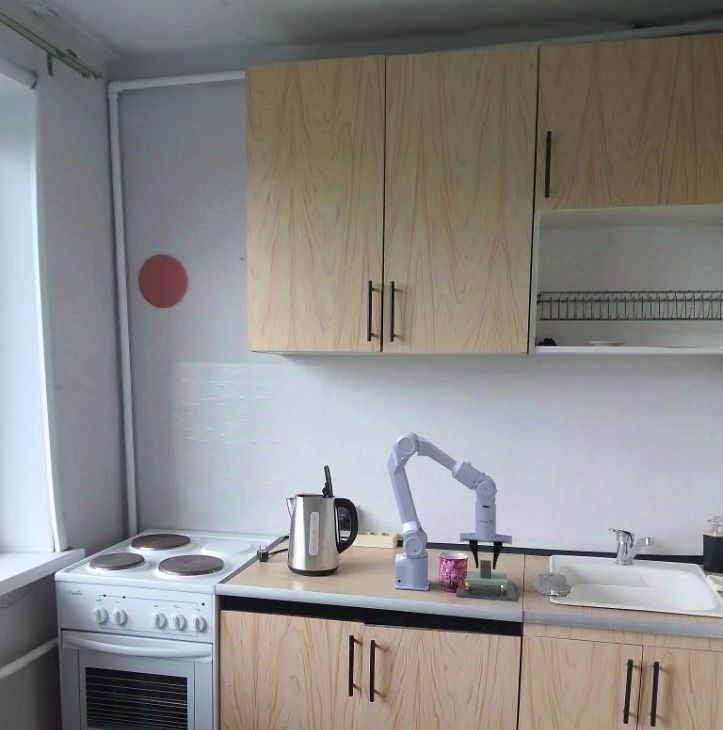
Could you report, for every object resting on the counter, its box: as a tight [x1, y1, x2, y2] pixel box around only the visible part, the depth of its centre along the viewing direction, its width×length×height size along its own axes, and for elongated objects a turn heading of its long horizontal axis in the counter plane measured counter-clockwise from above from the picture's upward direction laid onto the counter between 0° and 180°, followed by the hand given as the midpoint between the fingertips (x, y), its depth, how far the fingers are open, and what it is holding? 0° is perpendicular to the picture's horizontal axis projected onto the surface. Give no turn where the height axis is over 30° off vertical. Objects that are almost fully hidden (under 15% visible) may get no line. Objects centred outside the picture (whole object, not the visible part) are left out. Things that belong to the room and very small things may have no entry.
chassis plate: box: [455, 581, 517, 602], centre depth 175 cm, size 16×14×3 cm
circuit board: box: [464, 559, 509, 586], centre depth 175 cm, size 12×8×5 cm, turn 79°
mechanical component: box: [533, 571, 572, 597], centre depth 175 cm, size 10×4×10 cm
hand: (485, 567), depth 175 cm, fingers open, 4 cm apart
